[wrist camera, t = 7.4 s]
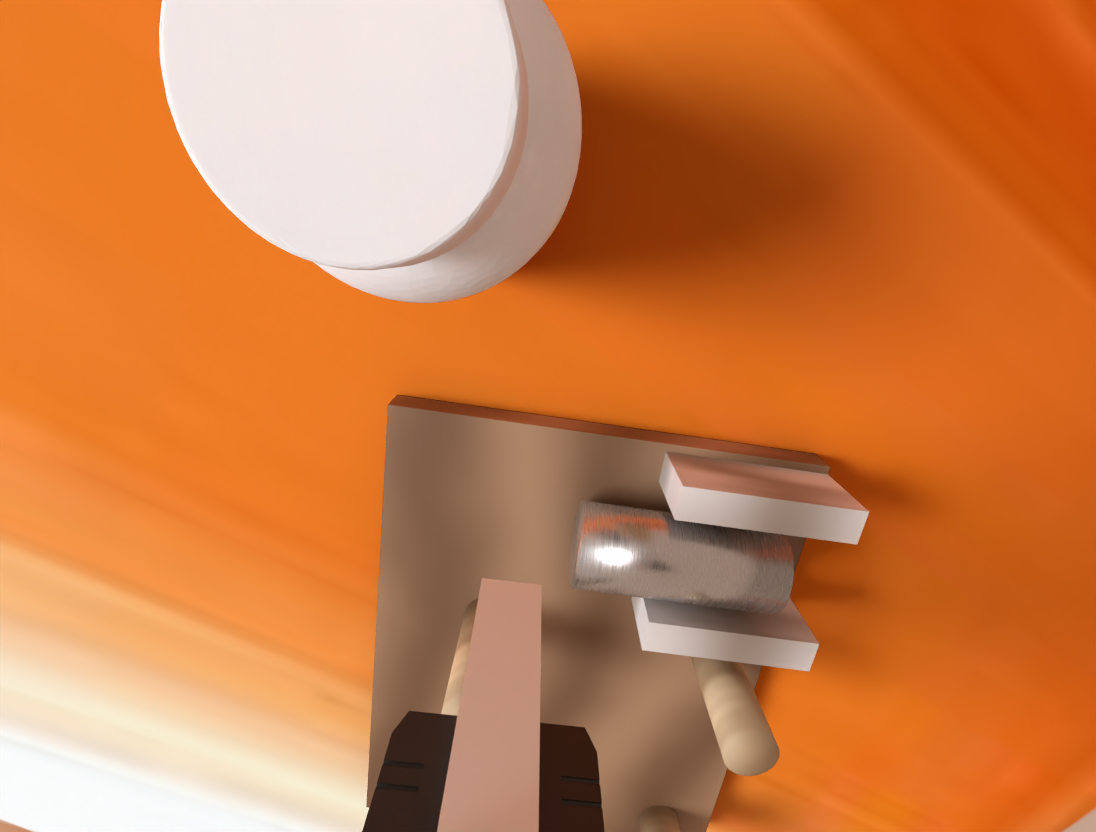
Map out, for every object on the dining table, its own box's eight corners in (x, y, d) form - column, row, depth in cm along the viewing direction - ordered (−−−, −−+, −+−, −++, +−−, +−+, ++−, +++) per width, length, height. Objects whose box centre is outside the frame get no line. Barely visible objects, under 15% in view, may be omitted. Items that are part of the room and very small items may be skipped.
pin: (568, 556, 21) (570, 607, 18) (581, 485, 20) (585, 528, 17) (747, 579, 21) (777, 634, 18) (768, 511, 20) (803, 557, 17)
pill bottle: (610, 136, 18) (703, -15, 7) (507, 308, 19) (447, 415, 8) (431, 9, 17) (188, -421, 6) (340, 205, 18) (21, 171, 7)
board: (374, 782, 27) (324, 937, 21) (397, 394, 20) (334, 461, 15) (695, 819, 28) (733, 979, 22) (815, 453, 21) (916, 541, 15)
